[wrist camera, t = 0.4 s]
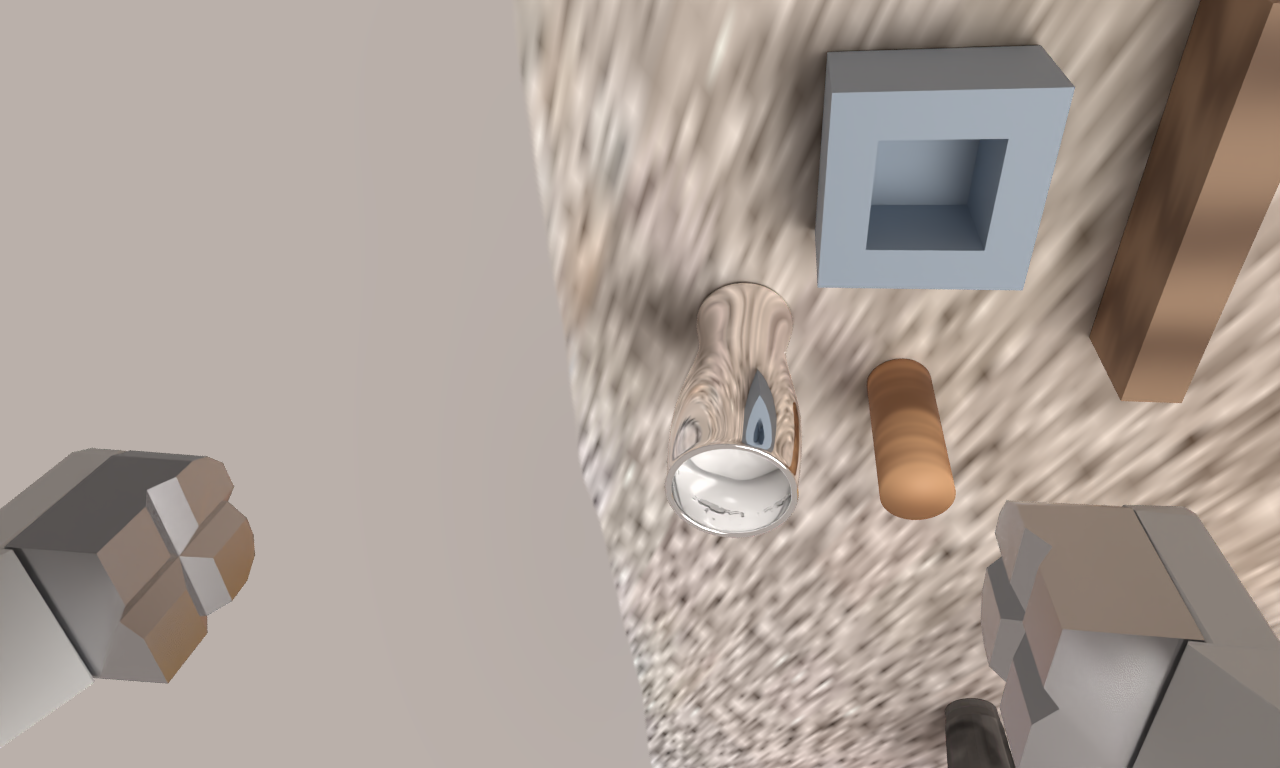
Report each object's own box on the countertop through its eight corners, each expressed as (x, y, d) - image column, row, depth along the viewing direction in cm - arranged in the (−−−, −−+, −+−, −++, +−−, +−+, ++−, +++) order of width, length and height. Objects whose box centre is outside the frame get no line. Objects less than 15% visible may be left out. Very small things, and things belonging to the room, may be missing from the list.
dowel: (870, 358, 51) (884, 467, 44) (935, 359, 51) (961, 471, 43) (864, 405, 54) (876, 517, 46) (926, 408, 53) (949, 521, 46)
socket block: (827, 52, 40) (832, 92, 36) (1040, 45, 39) (1075, 87, 34) (814, 232, 46) (817, 287, 42) (998, 233, 45) (1022, 290, 40)
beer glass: (715, 378, 54) (695, 552, 43) (671, 296, 51) (636, 461, 39) (815, 348, 52) (822, 525, 40) (776, 260, 48) (772, 425, 36)
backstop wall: (1211, -32, 36) (1273, 3, 31) (1286, -35, 35) (1360, 0, 31) (1089, 337, 48) (1121, 400, 44) (1143, 338, 48) (1181, 403, 43)
